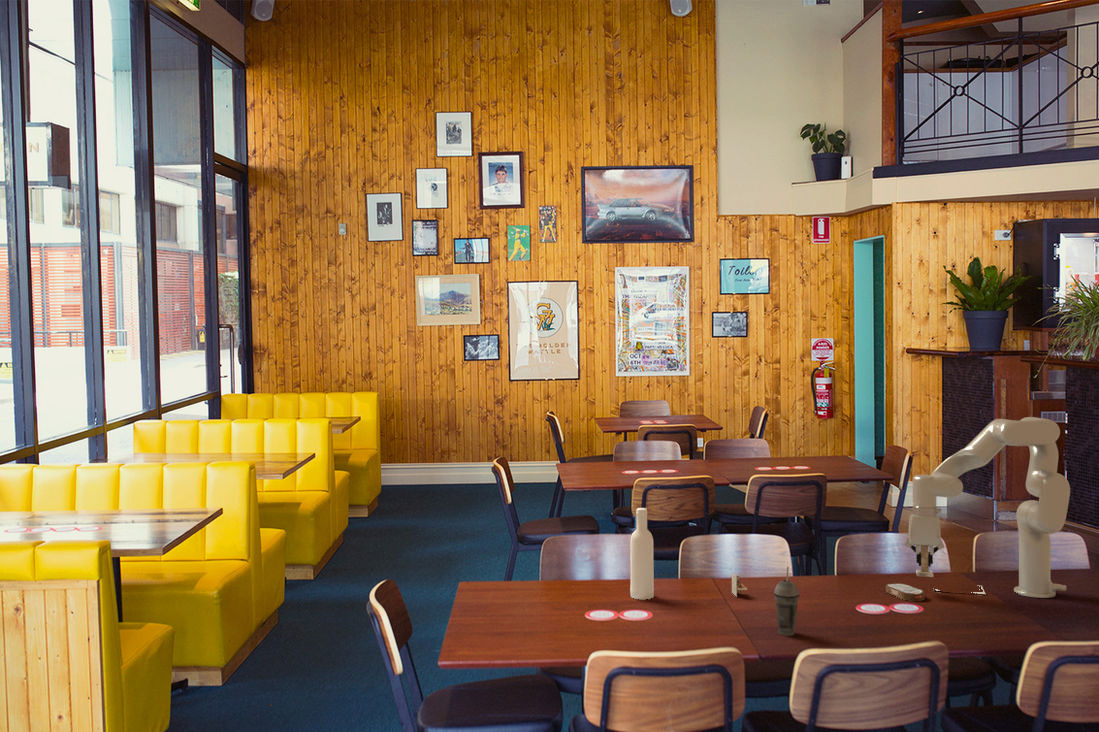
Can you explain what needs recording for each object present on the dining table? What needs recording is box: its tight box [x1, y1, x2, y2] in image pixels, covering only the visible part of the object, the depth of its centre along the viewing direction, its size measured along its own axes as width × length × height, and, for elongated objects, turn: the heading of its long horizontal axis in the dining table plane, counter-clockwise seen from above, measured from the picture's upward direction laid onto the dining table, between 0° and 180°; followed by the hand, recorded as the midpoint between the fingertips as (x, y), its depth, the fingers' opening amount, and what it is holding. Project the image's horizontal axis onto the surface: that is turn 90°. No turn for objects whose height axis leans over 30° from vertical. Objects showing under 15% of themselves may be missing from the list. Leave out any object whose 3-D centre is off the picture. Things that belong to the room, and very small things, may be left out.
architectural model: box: [731, 573, 748, 598], centre depth 318 cm, size 3×7×7 cm, turn 5°
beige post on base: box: [915, 545, 934, 578], centre depth 318 cm, size 5×8×11 cm, turn 161°
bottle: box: [629, 507, 655, 601], centre depth 317 cm, size 8×8×30 cm
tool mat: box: [935, 585, 987, 596], centre depth 324 cm, size 16×12×1 cm
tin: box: [885, 582, 925, 602], centre depth 317 cm, size 15×3×8 cm
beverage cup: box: [773, 566, 800, 637], centre depth 275 cm, size 7×7×20 cm
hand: (924, 565), depth 318 cm, fingers closed on beige post on base
